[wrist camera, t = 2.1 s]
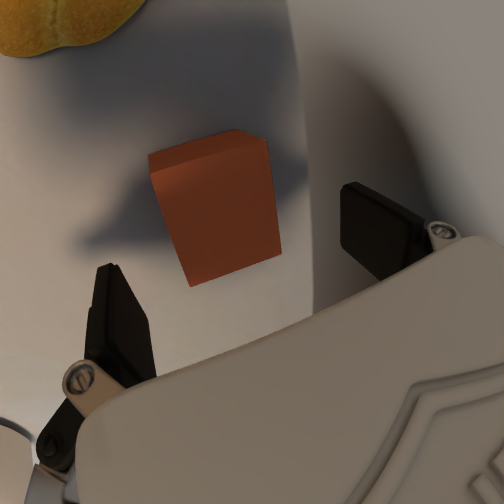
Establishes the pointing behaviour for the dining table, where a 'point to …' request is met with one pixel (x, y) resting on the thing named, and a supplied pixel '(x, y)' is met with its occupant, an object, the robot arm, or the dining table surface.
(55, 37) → the bread roll
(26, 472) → the cup
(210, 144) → the orange block
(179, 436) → the robot arm
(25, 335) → the dining table surface
